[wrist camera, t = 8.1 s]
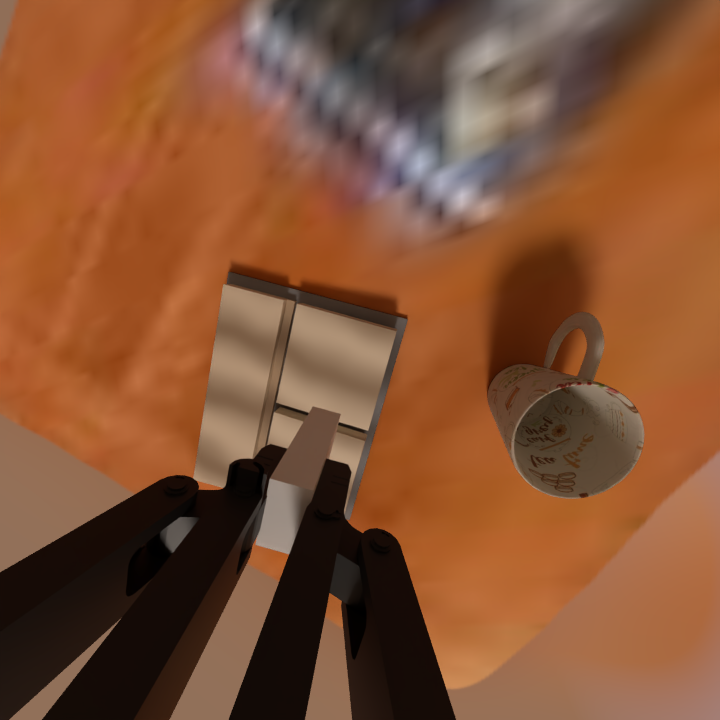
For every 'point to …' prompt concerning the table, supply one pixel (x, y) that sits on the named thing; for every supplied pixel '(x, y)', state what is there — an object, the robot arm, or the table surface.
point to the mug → (567, 421)
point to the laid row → (264, 373)
